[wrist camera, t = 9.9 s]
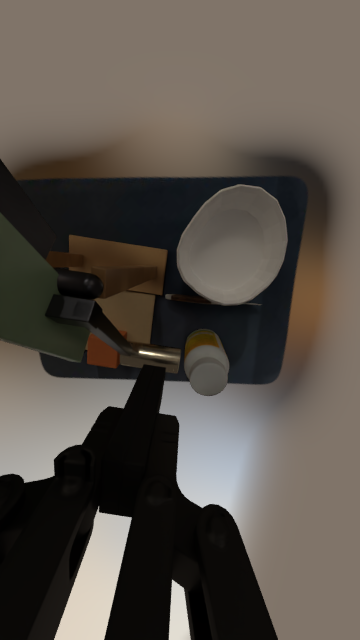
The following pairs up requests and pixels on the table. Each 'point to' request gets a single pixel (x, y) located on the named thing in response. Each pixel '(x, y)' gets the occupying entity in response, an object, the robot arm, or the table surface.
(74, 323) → the tilting tray
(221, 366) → the supplement bottle
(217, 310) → the table surface
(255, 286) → the cup
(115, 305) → the mat
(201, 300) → the pocket knife
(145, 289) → the scoop stand
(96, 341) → the block
